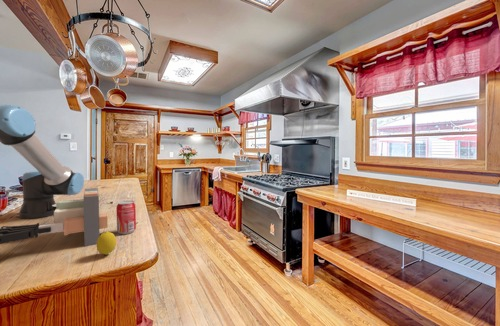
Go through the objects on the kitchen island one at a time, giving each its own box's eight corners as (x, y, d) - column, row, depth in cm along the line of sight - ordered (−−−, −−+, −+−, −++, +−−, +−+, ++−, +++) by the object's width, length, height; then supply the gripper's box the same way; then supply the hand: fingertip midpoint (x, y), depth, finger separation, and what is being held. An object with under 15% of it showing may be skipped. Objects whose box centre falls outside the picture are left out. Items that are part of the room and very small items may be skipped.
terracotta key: (65, 231, 82) (65, 217, 82) (106, 225, 90) (106, 212, 89) (64, 235, 79) (63, 221, 78) (107, 228, 86) (107, 215, 86)
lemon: (102, 251, 78) (102, 228, 77) (119, 251, 78) (119, 228, 78) (92, 259, 72) (92, 234, 72) (111, 258, 73) (110, 234, 72)
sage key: (58, 212, 92) (57, 200, 92) (96, 208, 99) (95, 197, 99) (56, 215, 88) (56, 202, 88) (96, 211, 95) (96, 199, 95)
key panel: (86, 229, 98) (85, 187, 97) (98, 227, 101) (97, 186, 100) (84, 246, 82) (83, 194, 81) (99, 243, 84) (98, 193, 83)
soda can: (139, 230, 99) (139, 201, 98) (125, 236, 92) (125, 204, 91) (127, 228, 101) (126, 199, 100) (112, 233, 94) (112, 203, 93)
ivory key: (55, 222, 86) (55, 209, 86) (96, 217, 93) (96, 205, 93) (54, 225, 82) (53, 212, 82) (96, 220, 90) (96, 207, 89)
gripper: (-29, 245, 72) (65, 231, 86) (-50, 262, 62) (61, 243, 75) (-30, 222, 72) (65, 212, 85) (-52, 235, 61) (61, 221, 75)
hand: (63, 226), depth 80 cm, fingers closed
